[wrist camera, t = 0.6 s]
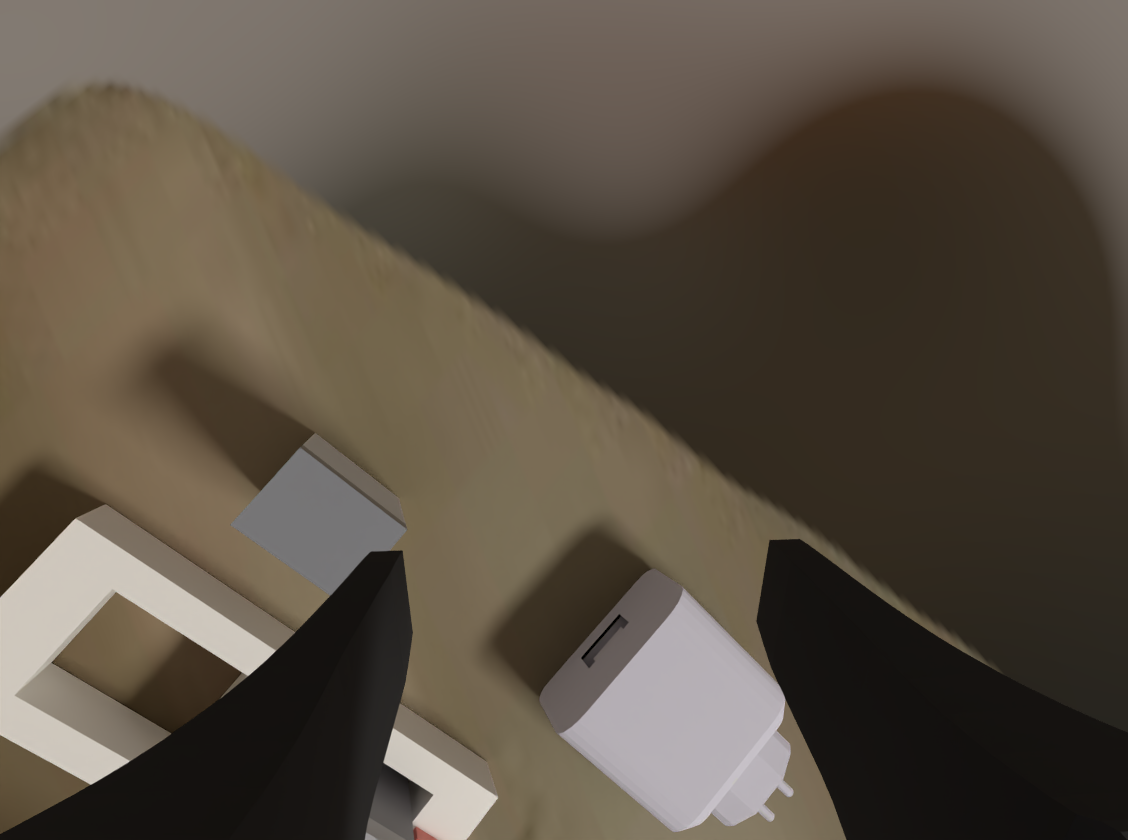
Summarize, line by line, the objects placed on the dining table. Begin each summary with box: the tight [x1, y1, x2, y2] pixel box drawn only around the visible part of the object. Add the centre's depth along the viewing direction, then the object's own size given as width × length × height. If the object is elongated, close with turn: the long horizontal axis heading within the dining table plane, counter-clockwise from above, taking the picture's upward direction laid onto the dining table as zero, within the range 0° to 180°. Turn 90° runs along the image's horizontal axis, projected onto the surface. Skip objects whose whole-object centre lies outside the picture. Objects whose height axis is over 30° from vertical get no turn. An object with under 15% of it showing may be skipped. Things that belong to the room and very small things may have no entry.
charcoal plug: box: [365, 763, 414, 840], centre depth 28 cm, size 4×5×7 cm
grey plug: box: [231, 433, 407, 596], centre depth 27 cm, size 4×5×7 cm
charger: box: [539, 569, 793, 832], centre depth 35 cm, size 5×9×15 cm
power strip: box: [0, 504, 498, 840], centre depth 28 cm, size 8×22×4 cm, turn 49°
